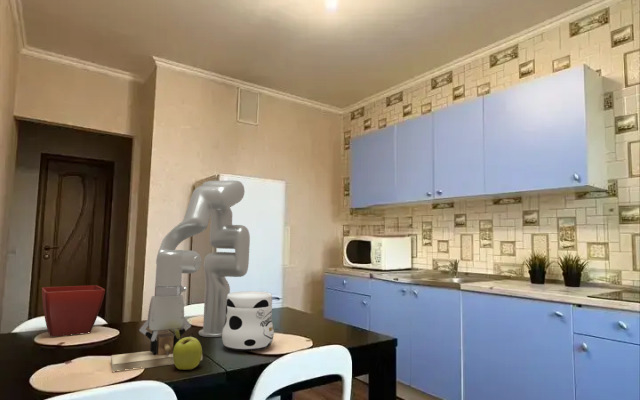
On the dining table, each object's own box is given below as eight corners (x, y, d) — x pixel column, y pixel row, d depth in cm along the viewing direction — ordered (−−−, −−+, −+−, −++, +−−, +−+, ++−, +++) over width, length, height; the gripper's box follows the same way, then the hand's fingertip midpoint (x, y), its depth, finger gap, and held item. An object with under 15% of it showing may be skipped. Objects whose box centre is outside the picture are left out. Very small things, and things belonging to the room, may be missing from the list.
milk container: (281, 351, 128) (282, 296, 130) (229, 358, 120) (232, 298, 122) (262, 339, 143) (264, 290, 145) (215, 344, 135) (218, 292, 137)
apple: (192, 357, 116) (198, 326, 115) (203, 372, 110) (209, 339, 109) (165, 362, 111) (171, 330, 110) (175, 378, 105) (181, 344, 104)
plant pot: (93, 325, 163) (96, 284, 164) (102, 334, 148) (105, 289, 150) (37, 331, 151) (41, 287, 153) (40, 341, 136) (45, 292, 138)
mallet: (169, 349, 120) (170, 333, 121) (175, 357, 112) (176, 340, 113) (155, 351, 118) (156, 334, 119) (160, 359, 110) (161, 341, 111)
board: (194, 352, 126) (194, 345, 126) (202, 360, 117) (202, 353, 117) (110, 362, 113) (111, 355, 114) (112, 372, 105) (113, 364, 105)
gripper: (193, 289, 127) (190, 346, 125) (136, 291, 118) (132, 353, 116) (199, 291, 120) (195, 352, 118) (139, 294, 112) (134, 359, 110)
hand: (164, 352), depth 117 cm, fingers closed on board, 5 cm apart
